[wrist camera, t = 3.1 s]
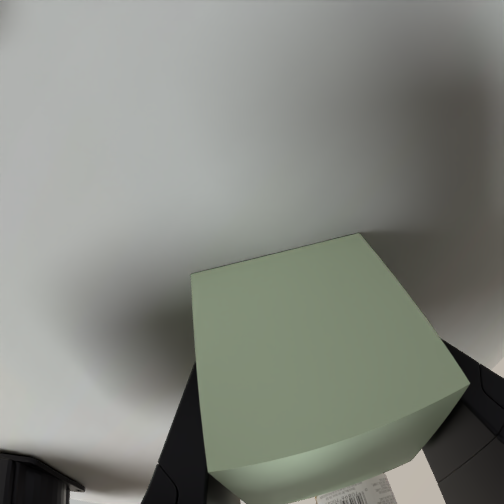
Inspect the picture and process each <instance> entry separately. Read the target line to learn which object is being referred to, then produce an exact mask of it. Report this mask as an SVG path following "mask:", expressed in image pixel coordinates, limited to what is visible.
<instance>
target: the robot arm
mask: <svg viewBox="0 0 504 504" xmlns="http://www.w3.org/2000/svg"><path fill="white" fill-rule="evenodd" d="M440 339H441V338H440ZM441 340H442V342H443V343H444V344H445V346H446V347H447V349H448V350H449V352H450V353H451V355H452V356H453V358H454V359H455V361H456V362H457V364H458V365H459V367H460V368H461V370H462V371H463V373H464V374H465V376H466V378H467V379H468V381H469V382H470V385H469V386H468V388H467V389H466V391H465V392H464V394H463V395H462V397H461V398H460V399H459V401H458V402H457V404H456V405H455V407H454V408H453V409H452V411H451V412H450V414H449V415H448V416H447V418H446V419H445V420H444V422H443V423H442V424H441V425H440V427H439V428H438V429H437V431H436V432H435V433H434V434H433V436H432V437H431V438H430V439H429V441H428V442H427V443H426V444H425V445H424V447H423V448H422V450H423V451H424V454H425V456H426V458H427V461H428V463H429V465H430V467H431V469H432V472H433V474H434V476H435V478H436V481H437V483H438V486H439V488H440V491H441V493H442V495H443V498H444V500H445V502H446V504H504V378H502V377H501V376H499V375H497V374H496V373H494V372H493V371H491V370H489V369H488V368H486V367H485V366H483V365H482V364H479V363H478V362H477V361H475V360H474V359H472V358H471V357H469V356H468V355H466V354H465V353H463V352H461V351H460V350H458V349H457V348H455V347H454V346H452V345H450V344H449V343H447V342H446V341H444V340H443V339H441ZM158 463H159V464H157V465H156V468H155V471H154V474H153V477H152V479H151V482H150V484H149V486H148V489H147V491H146V494H145V496H144V498H143V500H142V502H141V504H240V498H238V497H237V496H236V495H235V494H233V493H232V492H231V491H230V490H228V489H227V488H226V487H225V486H224V485H222V484H221V483H220V482H219V481H218V480H216V479H215V478H214V477H213V476H212V475H211V474H209V473H208V469H207V461H206V453H205V445H204V437H203V428H202V419H201V410H200V400H199V390H198V379H197V367H196V361H195V364H194V366H193V369H192V372H191V374H190V377H189V380H188V382H187V385H186V388H185V390H184V393H183V396H182V398H181V401H180V404H179V406H178V409H177V412H176V414H175V417H174V420H173V422H172V425H171V428H170V430H169V433H168V436H167V439H166V441H165V444H164V447H163V449H162V452H161V455H160V458H159V460H158ZM70 491H74V492H85V487H84V486H82V485H80V484H78V483H76V482H74V481H73V480H71V479H69V478H67V477H65V476H64V475H62V474H60V473H58V472H57V471H55V470H53V469H51V468H50V467H48V466H46V465H45V464H43V463H42V462H40V461H38V460H37V459H34V458H31V457H24V456H15V455H8V454H1V453H0V504H69V498H70Z"/></svg>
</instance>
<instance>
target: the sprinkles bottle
mask: <svg viewBox="0 0 504 504" xmlns="http://www.w3.org/2000/svg"><path fill="white" fill-rule="evenodd" d="M315 498H316V504H397V502H396V500H395V497H394V494H393V492H392V490H391V487H390V484H389V482H388V479H387V477H386V475H385V474H384V473H382V474H380V475H377V476H375V477H372V478H370V479H367V480H364V481H362V482H359V483H356V484H353V485H350V486H347V487H344V488H341V489H338V490H335V491H332V492H329V493H326V494H322V495H319V496H315Z"/></svg>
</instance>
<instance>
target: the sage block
mask: <svg viewBox="0 0 504 504" xmlns="http://www.w3.org/2000/svg"><path fill="white" fill-rule="evenodd" d="M191 292H192V311H193V327H194V342H195V355H196V367H197V379H198V390H199V400H200V410H201V419H202V428H203V437H204V445H205V453H206V461H207V469H208V473H209V474H211V475H212V476H213V477H214V478H215V479H216V480H218V481H219V482H220V483H221V484H222V485H224V486H225V487H226V488H227V489H228V490H230V491H231V492H232V493H233V494H235V495H236V496H237V497H238V498H240V499H241V500H242V501H244V502H245V503H246V504H288V503H292V502H296V501H300V500H304V499H308V498H312V497H315V496H319V495H322V494H326V493H329V492H332V491H335V490H338V489H341V488H344V487H347V486H350V485H353V484H356V483H359V482H362V481H364V480H367V479H370V478H372V477H375V476H377V475H380V474H382V473H385V472H387V471H389V470H392V469H394V468H396V467H399V466H401V465H403V464H405V463H407V462H409V461H411V460H412V459H413V458H414V457H415V456H416V455H417V454H418V452H419V451H420V450H421V449H422V448H423V447H424V445H425V444H426V443H427V442H428V441H429V439H430V438H431V437H432V436H433V434H434V433H435V432H436V431H437V429H438V428H439V427H440V425H441V424H442V423H443V422H444V420H445V419H446V418H447V416H448V415H449V414H450V412H451V411H452V409H453V408H454V407H455V405H456V404H457V402H458V401H459V399H460V398H461V397H462V395H463V394H464V392H465V391H466V389H467V388H468V386H469V385H470V382H469V381H468V379H467V378H466V376H465V374H464V373H463V371H462V370H461V368H460V367H459V365H458V364H457V362H456V361H455V359H454V358H453V356H452V355H451V353H450V352H449V350H448V349H447V347H446V346H445V344H444V343H443V342H442V340H441V339H440V337H439V336H438V334H437V333H436V331H435V330H434V329H433V327H432V326H431V324H430V323H429V322H428V320H427V319H426V318H425V316H424V315H423V313H422V312H421V311H420V309H419V308H418V307H417V305H416V304H415V303H414V301H413V300H412V299H411V297H410V296H409V295H408V293H407V292H406V291H405V289H404V288H403V287H402V285H401V284H400V283H399V282H398V280H397V279H396V278H395V276H394V275H393V274H392V273H391V271H390V270H389V269H388V268H387V266H386V265H385V264H384V263H383V261H382V260H381V259H380V258H379V256H378V255H377V254H376V253H375V251H374V250H373V249H372V248H371V247H370V245H369V244H368V243H367V242H366V241H365V239H364V238H363V237H362V236H361V235H360V233H357V234H353V235H349V236H344V237H340V238H336V239H332V240H328V241H324V242H320V243H316V244H312V245H308V246H304V247H300V248H296V249H292V250H288V251H284V252H280V253H276V254H272V255H268V256H264V257H259V258H255V259H251V260H247V261H243V262H239V263H235V264H231V265H227V266H222V267H218V268H214V269H210V270H206V271H202V272H198V273H194V274H191Z"/></svg>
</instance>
